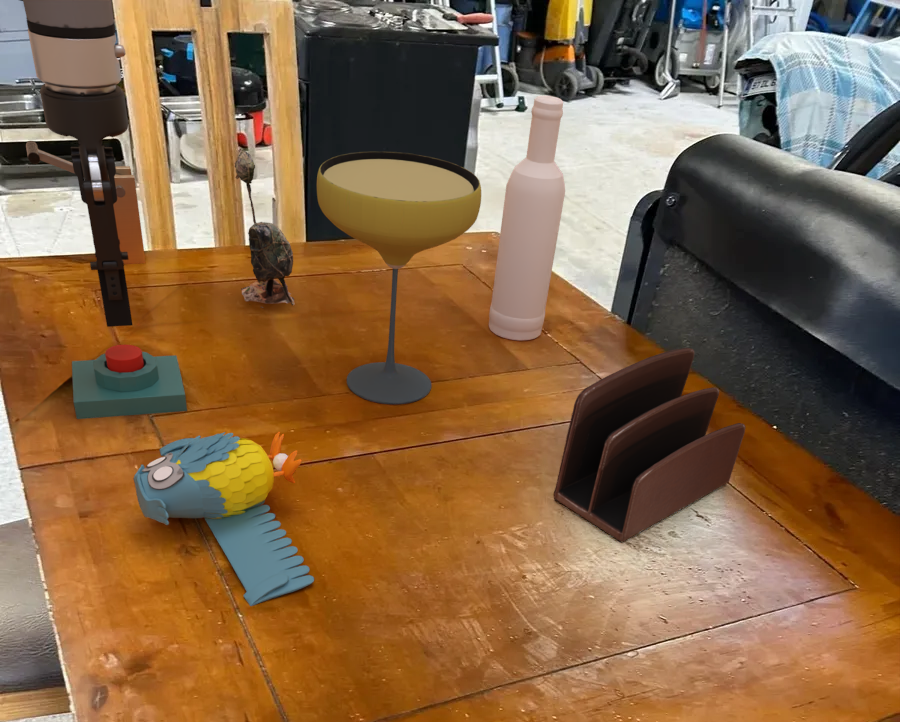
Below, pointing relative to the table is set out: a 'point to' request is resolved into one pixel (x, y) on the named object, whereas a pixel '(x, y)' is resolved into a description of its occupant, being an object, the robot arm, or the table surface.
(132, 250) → the bracket
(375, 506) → the table surface
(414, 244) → the cocktail glass
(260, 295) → the stone bird sculpture
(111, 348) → the button
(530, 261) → the bottle
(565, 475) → the letter holder
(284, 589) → the owl figurine
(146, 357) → the button block
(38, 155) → the lever
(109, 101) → the robot arm
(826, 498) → the table surface
